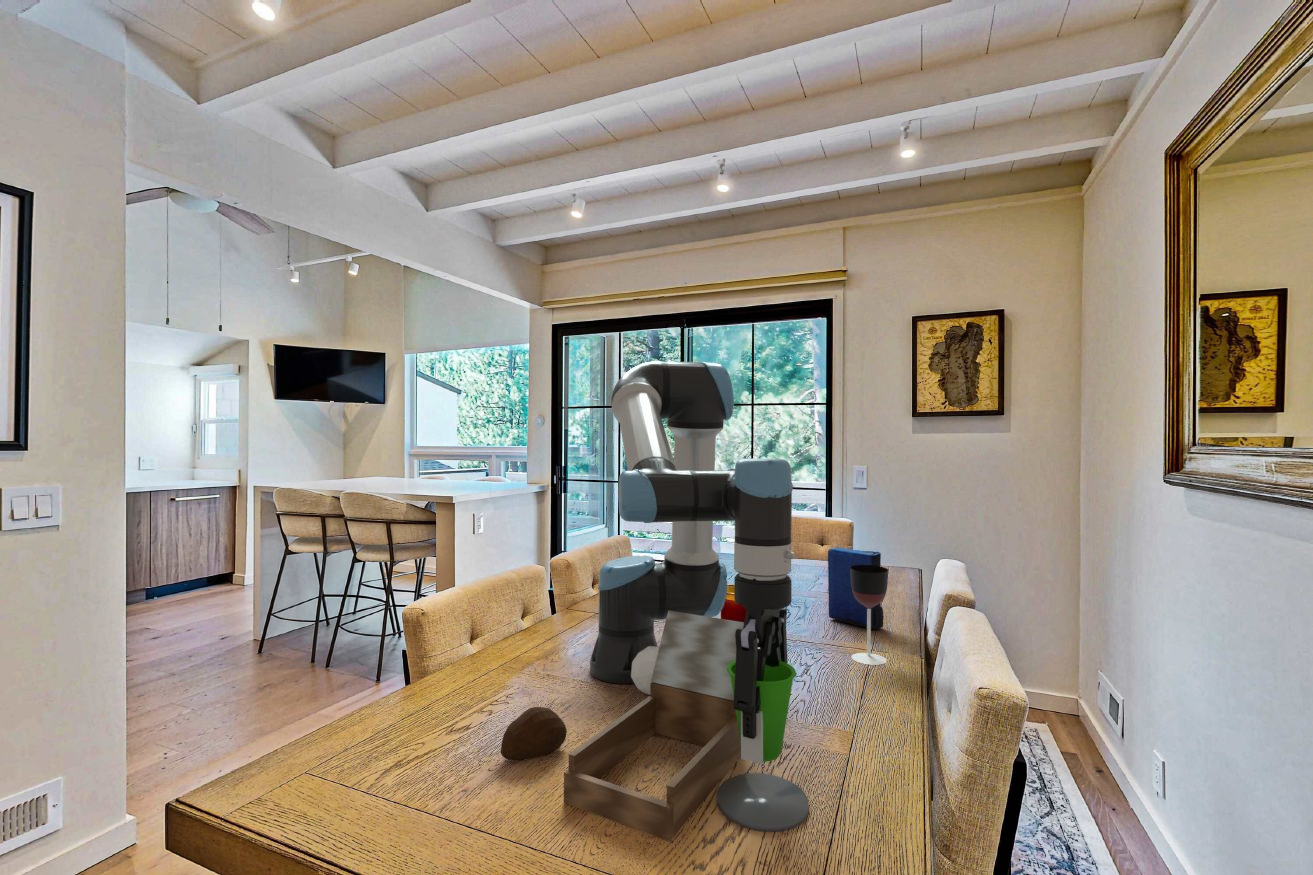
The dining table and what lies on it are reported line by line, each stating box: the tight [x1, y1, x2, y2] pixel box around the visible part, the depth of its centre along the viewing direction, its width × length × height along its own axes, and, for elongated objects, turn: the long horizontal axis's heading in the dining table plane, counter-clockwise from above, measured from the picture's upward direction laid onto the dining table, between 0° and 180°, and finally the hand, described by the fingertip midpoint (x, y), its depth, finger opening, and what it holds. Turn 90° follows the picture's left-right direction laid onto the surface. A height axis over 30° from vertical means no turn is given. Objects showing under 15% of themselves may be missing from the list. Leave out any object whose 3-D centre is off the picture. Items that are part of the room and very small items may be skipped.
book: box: [827, 546, 884, 630], centre depth 162 cm, size 14×5×20 cm, turn 42°
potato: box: [500, 706, 568, 762], centre depth 94 cm, size 7×10×7 cm
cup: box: [727, 660, 797, 763], centre depth 81 cm, size 9×9×11 cm
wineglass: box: [850, 565, 889, 666], centre depth 136 cm, size 8×9×20 cm
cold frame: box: [563, 611, 744, 842], centre depth 91 cm, size 16×30×19 cm, turn 151°
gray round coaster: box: [716, 772, 810, 833], centre depth 81 cm, size 12×12×1 cm
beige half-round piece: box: [631, 646, 659, 696], centre depth 116 cm, size 9×9×12 cm
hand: (762, 746), depth 81 cm, fingers closed on cup, 7 cm apart
